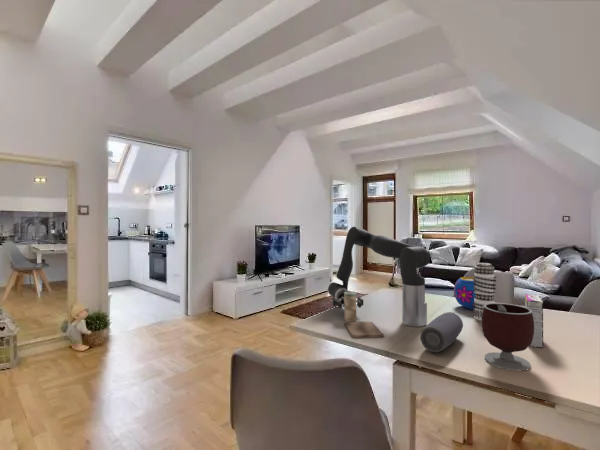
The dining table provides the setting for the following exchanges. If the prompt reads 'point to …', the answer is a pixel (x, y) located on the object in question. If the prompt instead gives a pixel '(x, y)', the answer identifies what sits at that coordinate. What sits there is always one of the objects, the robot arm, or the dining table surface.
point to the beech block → (350, 306)
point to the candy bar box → (536, 317)
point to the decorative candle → (483, 287)
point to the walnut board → (363, 329)
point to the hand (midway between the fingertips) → (350, 305)
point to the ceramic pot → (465, 292)
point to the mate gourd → (507, 334)
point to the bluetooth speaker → (441, 332)
